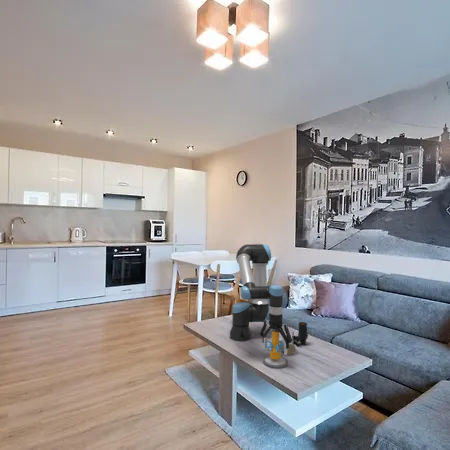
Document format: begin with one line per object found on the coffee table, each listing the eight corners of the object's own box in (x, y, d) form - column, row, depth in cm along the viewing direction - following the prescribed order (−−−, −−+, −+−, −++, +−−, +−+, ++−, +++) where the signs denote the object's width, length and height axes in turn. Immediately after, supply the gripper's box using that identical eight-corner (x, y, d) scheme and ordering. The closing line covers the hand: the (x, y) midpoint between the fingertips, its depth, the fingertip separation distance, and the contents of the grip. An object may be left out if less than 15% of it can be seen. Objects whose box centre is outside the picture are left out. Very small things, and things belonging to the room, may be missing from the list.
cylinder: (263, 353, 179) (264, 327, 179) (281, 352, 180) (281, 327, 180) (268, 362, 167) (268, 335, 167) (287, 362, 168) (287, 334, 168)
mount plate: (258, 363, 172) (258, 361, 172) (269, 355, 183) (269, 353, 183) (281, 370, 164) (281, 368, 164) (291, 361, 175) (291, 359, 175)
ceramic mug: (285, 356, 182) (285, 343, 182) (278, 351, 190) (279, 338, 190) (300, 354, 185) (301, 342, 185) (293, 349, 193) (294, 337, 193)
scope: (291, 322, 202) (303, 320, 207) (291, 343, 202) (303, 341, 207) (299, 326, 195) (311, 324, 199) (299, 347, 195) (311, 345, 199)
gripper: (253, 311, 177) (253, 348, 177) (293, 318, 163) (293, 359, 163) (260, 308, 183) (259, 344, 183) (298, 315, 169) (298, 354, 169)
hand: (275, 351), depth 173 cm, fingers closed on cylinder, 12 cm apart
